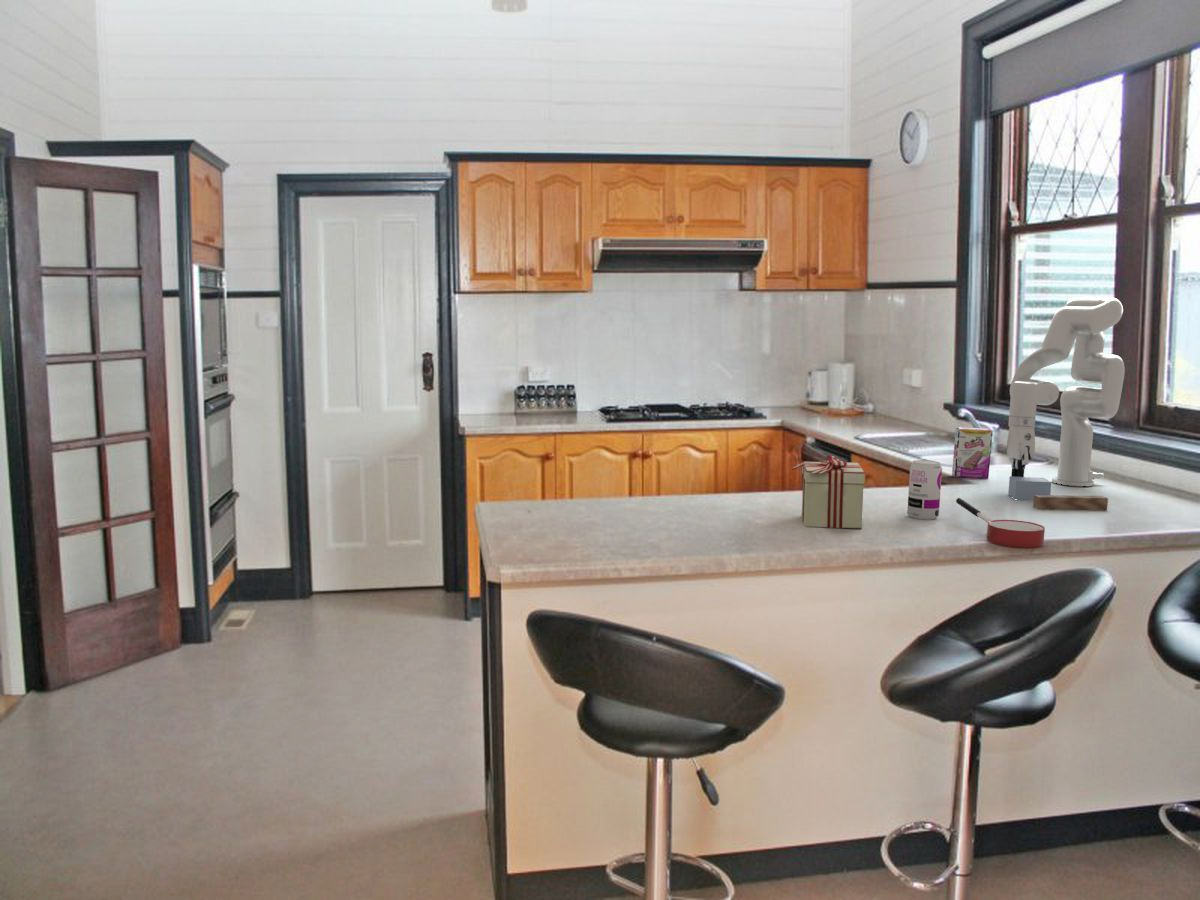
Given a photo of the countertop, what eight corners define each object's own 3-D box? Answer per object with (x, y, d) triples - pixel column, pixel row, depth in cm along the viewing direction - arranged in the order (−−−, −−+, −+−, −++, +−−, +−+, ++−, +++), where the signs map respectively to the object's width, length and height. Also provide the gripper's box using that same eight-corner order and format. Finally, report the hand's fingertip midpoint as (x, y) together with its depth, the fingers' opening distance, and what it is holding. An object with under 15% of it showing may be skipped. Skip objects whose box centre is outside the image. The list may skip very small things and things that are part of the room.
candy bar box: (954, 477, 362) (958, 428, 359) (951, 475, 366) (954, 426, 364) (989, 479, 360) (993, 429, 358) (985, 476, 365) (989, 428, 363)
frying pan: (928, 522, 288) (929, 499, 287) (969, 520, 293) (971, 497, 292) (1010, 550, 258) (1013, 524, 257) (1055, 547, 263) (1057, 521, 262)
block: (1042, 497, 330) (1044, 477, 330) (1049, 502, 323) (1051, 482, 322) (1008, 495, 332) (1009, 476, 331) (1014, 500, 324) (1016, 480, 323)
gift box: (785, 515, 293) (788, 451, 290) (854, 517, 292) (858, 453, 290) (794, 529, 276) (798, 461, 274) (868, 531, 276) (872, 463, 273)
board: (1100, 507, 314) (1101, 495, 314) (1106, 510, 311) (1108, 498, 310) (1033, 507, 313) (1033, 495, 313) (1038, 509, 310) (1039, 497, 309)
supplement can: (939, 515, 297) (942, 461, 295) (937, 521, 290) (941, 465, 288) (908, 513, 300) (911, 459, 298) (906, 518, 292) (909, 463, 290)
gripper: (1045, 425, 325) (1040, 486, 328) (1023, 419, 340) (1018, 477, 343) (1020, 424, 325) (1015, 485, 327) (999, 419, 340) (995, 477, 342)
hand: (1017, 481), depth 335 cm, fingers closed
